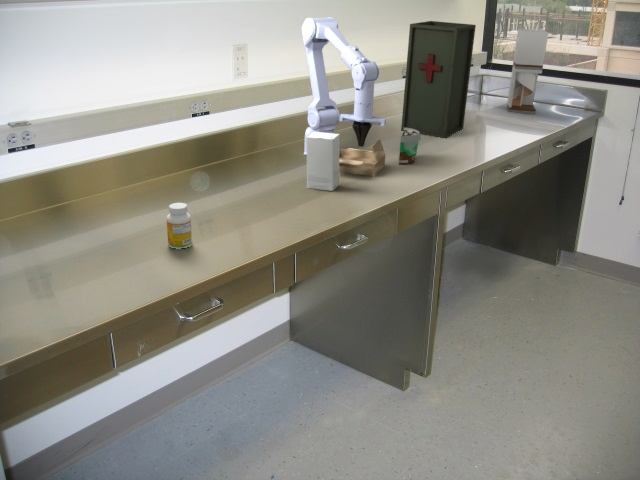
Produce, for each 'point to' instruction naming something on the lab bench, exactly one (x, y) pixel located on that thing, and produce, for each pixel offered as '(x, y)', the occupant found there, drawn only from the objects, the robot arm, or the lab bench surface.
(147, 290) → the lab bench surface
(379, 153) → the flap
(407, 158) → the food container
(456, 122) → the first aid box
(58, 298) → the lab bench surface
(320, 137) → the skincare box
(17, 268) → the lab bench surface
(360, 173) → the carton
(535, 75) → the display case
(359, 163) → the flap
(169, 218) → the supplement bottle
